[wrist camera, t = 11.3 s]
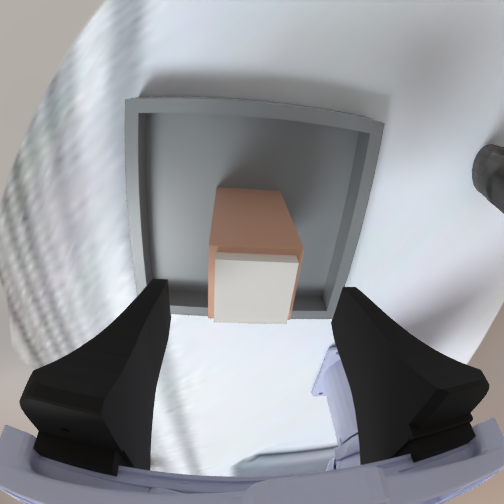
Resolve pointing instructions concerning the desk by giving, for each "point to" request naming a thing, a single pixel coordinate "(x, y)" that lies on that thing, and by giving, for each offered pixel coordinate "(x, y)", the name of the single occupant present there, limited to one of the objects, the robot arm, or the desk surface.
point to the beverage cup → (490, 174)
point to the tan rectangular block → (252, 257)
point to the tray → (246, 177)
